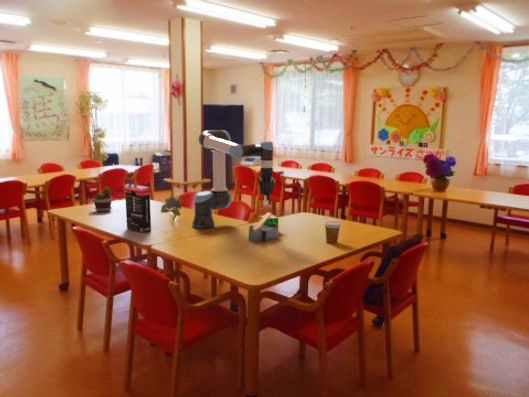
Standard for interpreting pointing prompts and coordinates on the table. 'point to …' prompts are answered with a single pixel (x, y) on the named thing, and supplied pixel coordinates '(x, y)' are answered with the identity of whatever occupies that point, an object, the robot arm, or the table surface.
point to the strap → (261, 222)
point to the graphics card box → (138, 209)
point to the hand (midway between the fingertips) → (266, 205)
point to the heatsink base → (263, 233)
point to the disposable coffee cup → (332, 232)
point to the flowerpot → (103, 201)
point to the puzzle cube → (270, 220)
